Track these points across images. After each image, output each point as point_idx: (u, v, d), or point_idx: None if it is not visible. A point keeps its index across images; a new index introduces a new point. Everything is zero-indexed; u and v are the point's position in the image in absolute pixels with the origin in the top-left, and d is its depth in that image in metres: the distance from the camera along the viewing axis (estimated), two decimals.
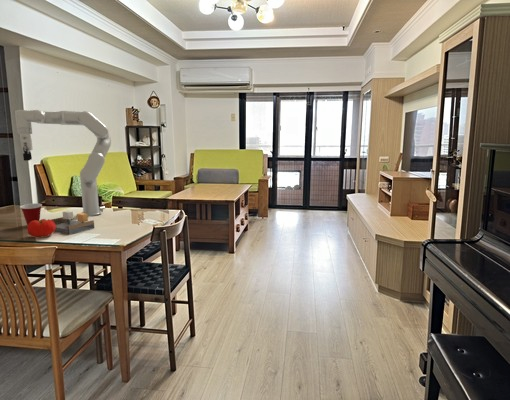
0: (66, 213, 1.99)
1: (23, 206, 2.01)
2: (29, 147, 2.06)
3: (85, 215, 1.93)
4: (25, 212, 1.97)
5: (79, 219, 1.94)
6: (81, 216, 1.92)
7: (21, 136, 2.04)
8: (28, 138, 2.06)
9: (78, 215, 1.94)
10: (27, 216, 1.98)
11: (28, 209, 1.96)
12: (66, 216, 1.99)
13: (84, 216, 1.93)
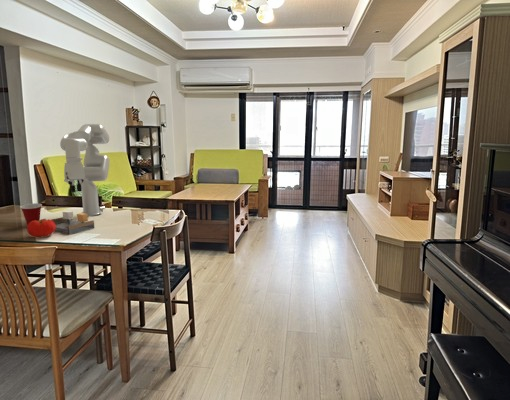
0: (66, 213, 1.99)
1: (23, 206, 2.01)
2: None
3: (85, 215, 1.93)
4: (25, 212, 1.97)
5: (79, 219, 1.94)
6: (81, 216, 1.92)
7: None
8: None
9: (78, 215, 1.94)
10: (27, 216, 1.98)
11: (28, 209, 1.96)
12: (66, 216, 1.99)
13: (84, 216, 1.93)
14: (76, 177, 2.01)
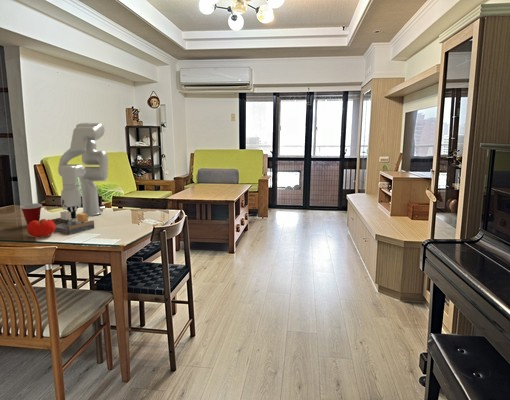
0: (64, 213, 1.97)
1: (23, 206, 2.01)
2: None
3: (85, 215, 1.93)
4: (25, 212, 1.97)
5: (79, 219, 1.94)
6: (81, 216, 1.92)
7: None
8: None
9: (78, 215, 1.94)
10: (27, 216, 1.98)
11: (28, 209, 1.96)
12: (64, 216, 1.98)
13: (84, 216, 1.93)
14: (73, 204, 2.01)
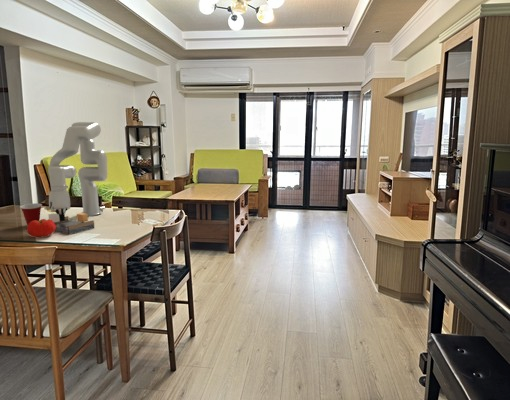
0: (52, 216, 1.92)
1: (23, 206, 2.01)
2: None
3: (85, 215, 1.93)
4: (25, 212, 1.97)
5: (79, 219, 1.94)
6: (81, 216, 1.92)
7: (68, 193, 1.98)
8: None
9: (78, 215, 1.94)
10: (27, 216, 1.98)
11: (28, 209, 1.96)
12: (52, 219, 1.92)
13: (84, 216, 1.93)
14: (61, 206, 1.95)
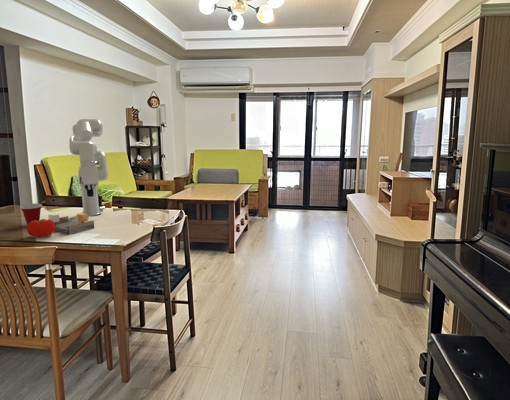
0: (52, 216, 1.91)
1: (23, 206, 2.01)
2: None
3: (85, 215, 1.93)
4: (25, 212, 1.97)
5: (79, 219, 1.94)
6: (81, 216, 1.92)
7: None
8: None
9: (78, 215, 1.94)
10: (27, 216, 1.98)
11: (28, 209, 1.96)
12: (52, 219, 1.92)
13: (84, 216, 1.93)
14: (90, 182, 1.95)
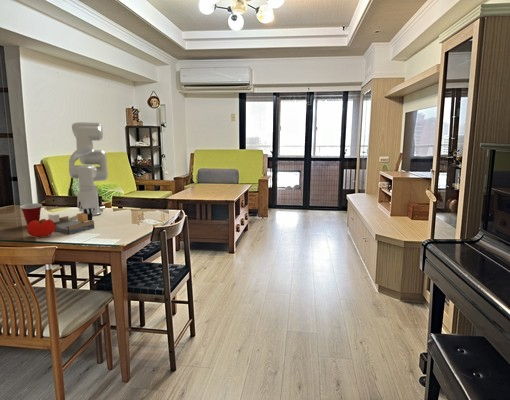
0: (52, 216, 1.91)
1: (23, 206, 2.01)
2: None
3: (85, 215, 1.93)
4: (25, 212, 1.97)
5: (79, 219, 1.94)
6: (81, 216, 1.92)
7: None
8: None
9: (78, 215, 1.93)
10: (27, 216, 1.98)
11: (28, 209, 1.96)
12: (52, 219, 1.92)
13: (84, 216, 1.93)
14: (89, 206, 1.96)
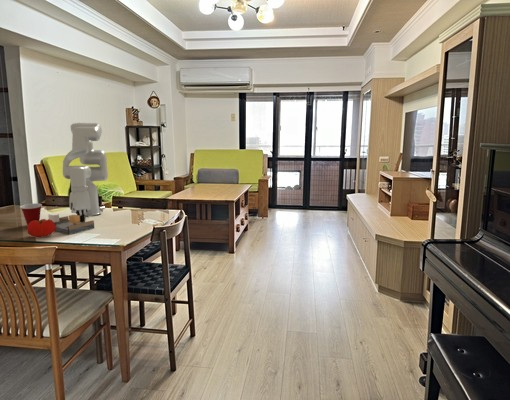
0: (52, 216, 1.91)
1: (23, 206, 2.01)
2: None
3: (77, 217, 1.89)
4: (25, 212, 1.97)
5: (71, 221, 1.89)
6: (73, 218, 1.88)
7: None
8: None
9: (70, 217, 1.89)
10: (27, 216, 1.98)
11: (28, 209, 1.96)
12: (52, 219, 1.92)
13: (76, 218, 1.89)
14: (82, 207, 1.92)
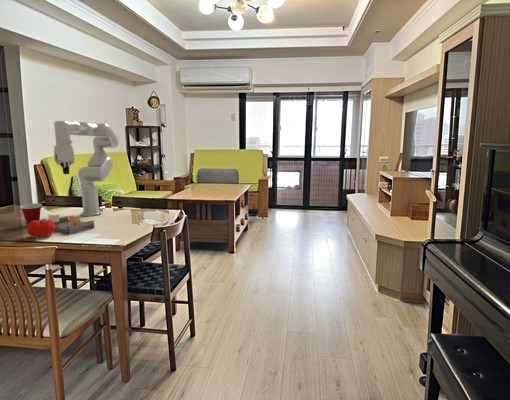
0: (52, 216, 1.91)
1: (23, 206, 2.01)
2: None
3: (77, 217, 1.89)
4: (25, 212, 1.97)
5: (71, 221, 1.89)
6: (73, 218, 1.88)
7: None
8: None
9: (70, 217, 1.89)
10: (27, 216, 1.98)
11: (28, 209, 1.96)
12: (52, 219, 1.92)
13: (76, 218, 1.89)
14: (66, 159, 2.03)
